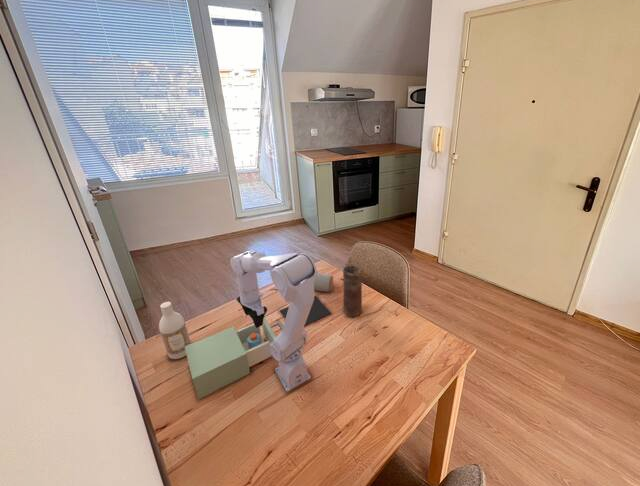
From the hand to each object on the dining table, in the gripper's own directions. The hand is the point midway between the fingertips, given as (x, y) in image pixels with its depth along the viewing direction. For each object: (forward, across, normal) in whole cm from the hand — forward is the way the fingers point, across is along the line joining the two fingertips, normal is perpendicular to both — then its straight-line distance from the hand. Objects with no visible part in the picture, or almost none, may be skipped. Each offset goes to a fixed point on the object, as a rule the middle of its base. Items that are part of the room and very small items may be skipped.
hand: (254, 319), depth 99 cm
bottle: (+8, -4, +2) cm, 9 cm away
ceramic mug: (+10, +10, -36) cm, 39 cm away
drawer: (+9, -4, +1) cm, 10 cm away
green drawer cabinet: (+10, -2, +14) cm, 17 cm away
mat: (+10, +2, -21) cm, 23 cm away
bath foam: (+10, +13, +21) cm, 27 cm away
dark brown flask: (+10, -10, -36) cm, 39 cm away
